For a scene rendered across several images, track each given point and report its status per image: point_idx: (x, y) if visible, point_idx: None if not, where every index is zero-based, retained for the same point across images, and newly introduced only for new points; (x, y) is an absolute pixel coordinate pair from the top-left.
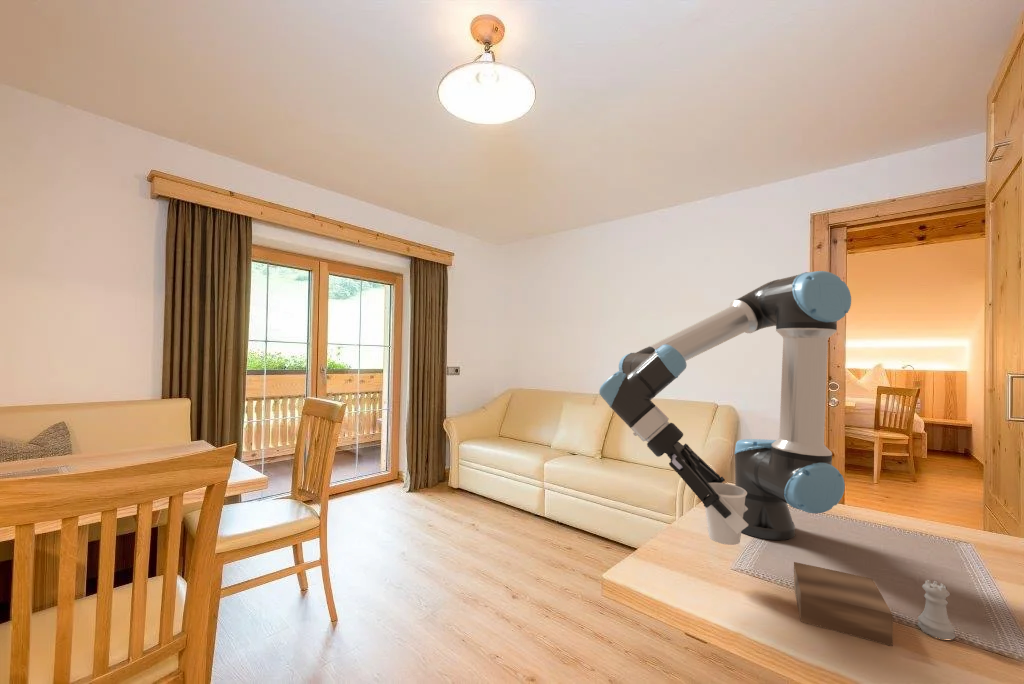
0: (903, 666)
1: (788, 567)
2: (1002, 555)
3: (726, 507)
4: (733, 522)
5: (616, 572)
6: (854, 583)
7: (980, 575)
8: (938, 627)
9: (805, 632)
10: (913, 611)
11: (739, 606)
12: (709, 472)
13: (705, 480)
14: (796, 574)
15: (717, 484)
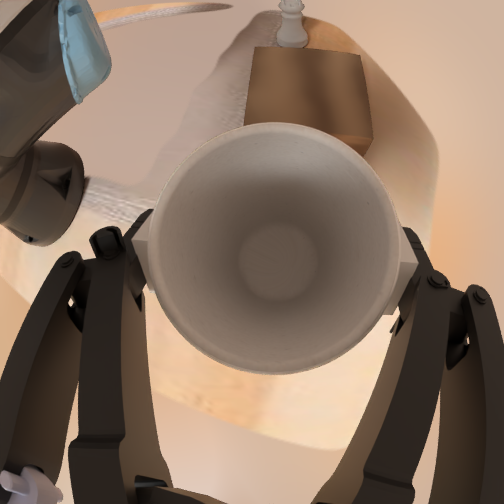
0: (387, 87)
1: (174, 154)
2: (103, 14)
3: None
4: None
5: (328, 449)
6: (288, 64)
7: (142, 15)
8: (306, 34)
9: (384, 162)
10: (250, 46)
11: None
12: (121, 327)
13: (419, 367)
14: None
15: (165, 272)
